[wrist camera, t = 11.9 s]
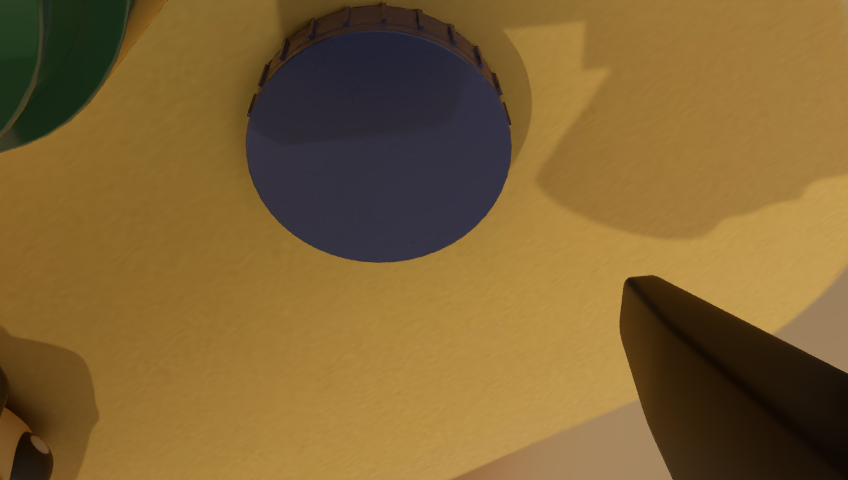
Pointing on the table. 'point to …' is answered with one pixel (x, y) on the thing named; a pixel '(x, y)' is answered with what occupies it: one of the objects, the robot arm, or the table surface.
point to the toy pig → (22, 451)
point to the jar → (60, 59)
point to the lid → (378, 135)
